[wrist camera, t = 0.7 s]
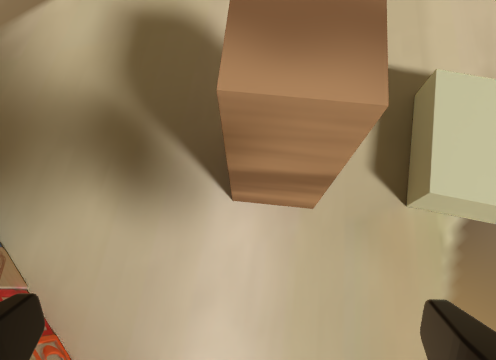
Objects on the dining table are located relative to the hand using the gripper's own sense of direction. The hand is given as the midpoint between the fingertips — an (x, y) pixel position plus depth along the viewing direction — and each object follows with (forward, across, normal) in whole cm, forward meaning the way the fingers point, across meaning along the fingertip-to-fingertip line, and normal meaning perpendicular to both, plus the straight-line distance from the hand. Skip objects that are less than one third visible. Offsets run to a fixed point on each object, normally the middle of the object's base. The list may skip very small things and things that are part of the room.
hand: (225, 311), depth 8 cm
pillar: (+15, -1, +2) cm, 15 cm away
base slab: (+16, -14, +2) cm, 22 cm away
